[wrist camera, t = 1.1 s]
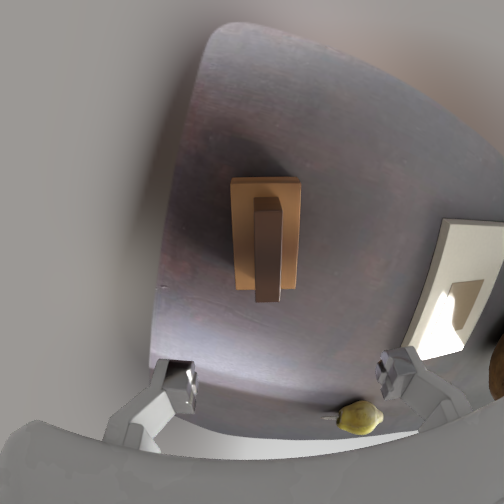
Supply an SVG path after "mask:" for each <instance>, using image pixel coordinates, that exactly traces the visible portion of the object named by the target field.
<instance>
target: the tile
mask: <svg viewBox="0 0 504 504" xmlns="http://www.w3.org/2000/svg"><path fill="white" fill-rule="evenodd" d="M503 260H504V222H493V221H478V220H462V219H442V224H441V228H440V232H439V237H438V240H437V244H436V248H435V252H434V255H433V259H432V262H431V266H430V269H429V272H428V276H427V279H426V282H425V285H424V288H423V291H422V294H421V297H420V299H419V302H418V305H417V308H416V310H415V313H414V316H413V318H412V321H411V323H410V326H409V328H408V331H407V333H406V335H405V338H404V340H403V342H402V345H401V347H402V348H403V347H408V346H414V347H415V349H416V351H417V353H418V355H419V356H420V358H421V360H425V359H429V358H433V357H437V356H441V355H445V354H449V353H453V352H456V351H460V350H462V349H463V347H464V345H465V343H466V342H467V340H468V338H469V336H470V334H471V333H472V331H473V329H474V327H475V325H476V323H477V321H478V319H479V317H480V315H481V313H482V311H483V309H484V306H485V304H486V302H487V300H488V298H489V295H490V293H491V291H492V288H493V286H494V284H495V281H496V279H497V276H498V273H499V271H500V268H501V265H502V263H503ZM401 347H400V348H401Z"/></svg>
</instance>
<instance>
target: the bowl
mask: <svg viewBox="0 0 504 504" xmlns="http://www.w3.org/2000/svg"><path fill="white" fill-rule="evenodd" d="M489 389H490V392H491V395H492V396H493V398H494V400H495V401H496V400H498V399H500V398H501V397H503V396H504V333H503V335H502V336H501V338H500V340H499V341H498V343H497V345H496V347H495V349H494V352H493V354H492V357H491V360H490V366H489Z"/></svg>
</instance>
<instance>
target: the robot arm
mask: <svg viewBox="0 0 504 504" xmlns="http://www.w3.org/2000/svg"><path fill="white" fill-rule="evenodd" d="M380 357H381V359H382V360H380V361H379V362H378V363H377V366H376V378H377V381H378V383H380V384H381V385H382V387H381V392H382V395H383V398H384V400H385V401H387V400H392V399H397V398H400V399H401V400H403V401H404V402H405V403H406V404H407V405H408V406H409V407H410V408H411V409H412V410H414V411H415V412H416V413H417V414H418V415H419V416H420V417H421V418H422V419H423V420H425V422H424V423H423V424H422V425H421V426H420V427H419V429H418V431H419V433H417V434H414V435H411V436H408V437H404V438H401V439H397V440H394V441H390V442H386V443H382V444H378V445H374V446H369V447H365V448H360V449H355V450H350V451H344V452H338V453H332V454H325V455H317V456H309V457H299V458H287V459H269V460H221V459H206V458H194V457H193V458H192V457H184V456H183V457H182V456H175V455H167V454H161V453H160V452H161V450H160V449H159V447H158V446H157V445H156V443H155V442H154V441H153V438H154V437H155V436H156V435H157V434H158V433H159V431H161V429H162V428H163V427H164V426H165V425H166V424H167V423H168V422H169V420H170V419H171V418H172V417H173V416H174V415H175V413H187V414H194V413H195V406H196V399H195V395H196V394H197V393H198V375H197V373H196V372H195V364H194V361H182V360H169V359H159V360H158V361H157V363H156V366H155V370H154V373H153V376H152V380H151V383H150V386H149V388H145V389H144V390H143V391H142V392H140V393H139V394H138V395H137V396H135V397H134V398H133V399H132V400H131V401H130V402H128V403H127V404H126V405H124V406H123V407H122V408H121V409H120V410H118V411H117V412H116V413H115V414H114V415H112V416H111V417H110V419H109V422H108V425H107V428H106V431H105V434H104V437H103V440H102V441H99V440H95V439H92V438H88V437H85V436H82V435H79V434H76V433H73V432H70V431H67V430H64V429H61V428H59V427H56V426H53V425H50V424H48V423H46V422H43V421H40V420H34V421H32V422H29V423H28V424H26V425H24V426H22V427H21V428H19V429H18V430H16V431H14V432H13V433H12V434H11V435H10V436H9V438H8V440H7V441H6V443H5V445H4V447H3V449H2V451H1V454H0V504H504V396H503V397H501V398H500V399H498V400H496V401H494V402H492V403H490V404H488V405H486V406H484V407H482V408H480V409H478V410H476V411H474V412H473V410H472V408H471V406H470V404H469V402H468V400H467V398H466V396H465V394H464V392H463V391H461V390H459V389H458V388H456V387H455V386H453V385H452V384H450V383H449V382H447V381H446V380H444V379H442V378H441V377H439V376H438V375H436V374H435V373H433V372H432V371H430V370H428V371H427V370H426V368H425V366H424V364H423V362H422V360H421V358H420V356H419V355H418V353H417V351H416V349H415V347H414V346H408V347H403V348H402V347H401V348H396V349H390V350H384V351H383V352H382V354H381V356H380Z"/></svg>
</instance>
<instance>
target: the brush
mask: <svg viewBox="0 0 504 504" xmlns="http://www.w3.org/2000/svg"><path fill="white" fill-rule="evenodd" d="M230 193H231V213H232V232H233V250H234V267H235V283H236V290H255V302H280V290H281V289H295V288H296V274H297V260H298V244H299V226H300V204H301V182H300V181H299V179H298V178H297V177H236V178H232V180H231V183H230Z"/></svg>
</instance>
